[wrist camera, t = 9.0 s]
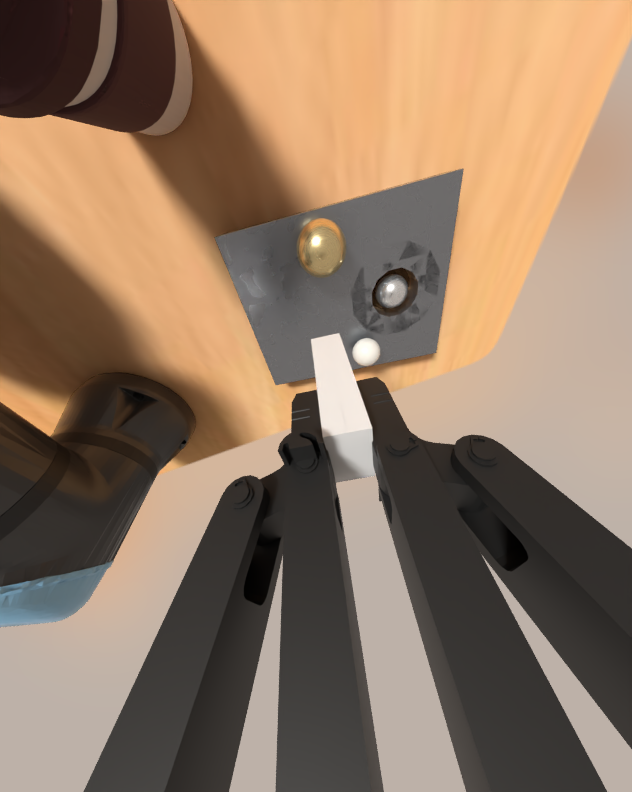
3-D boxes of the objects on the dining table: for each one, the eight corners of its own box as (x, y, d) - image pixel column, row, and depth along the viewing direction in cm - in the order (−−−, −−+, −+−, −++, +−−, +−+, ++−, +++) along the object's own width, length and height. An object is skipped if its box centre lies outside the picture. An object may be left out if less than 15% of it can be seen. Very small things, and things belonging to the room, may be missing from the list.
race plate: (277, 374, 31) (275, 385, 29) (222, 234, 21) (214, 237, 19) (427, 343, 29) (436, 352, 27) (447, 172, 19) (463, 168, 17)
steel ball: (370, 307, 25) (385, 316, 23) (369, 276, 23) (384, 282, 21) (396, 298, 26) (413, 306, 23) (397, 267, 24) (416, 272, 21)
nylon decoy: (351, 359, 27) (356, 373, 25) (349, 336, 25) (353, 349, 23) (377, 354, 27) (383, 368, 25) (375, 330, 25) (383, 343, 23)
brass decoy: (303, 276, 21) (303, 288, 18) (291, 224, 19) (289, 228, 16) (345, 266, 21) (353, 276, 18) (339, 211, 18) (346, 212, 15)
